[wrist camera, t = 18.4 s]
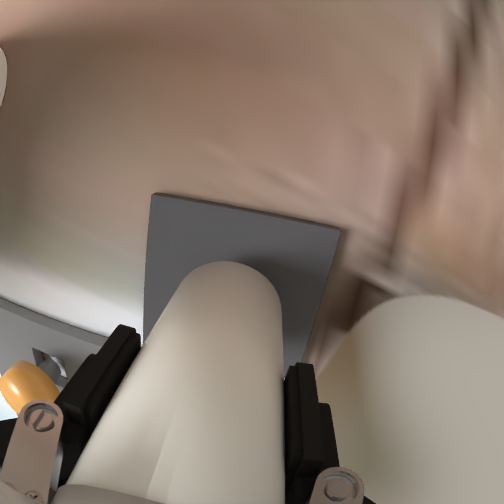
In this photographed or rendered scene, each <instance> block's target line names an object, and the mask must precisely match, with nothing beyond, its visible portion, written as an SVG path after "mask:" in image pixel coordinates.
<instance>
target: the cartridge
mask: <svg viewBox="0 0 504 504" xmlns="http://www.w3.org/2000/svg"><path fill="white" fill-rule="evenodd" d="M51 504H285V414H284V367H283V334H282V309H281V302H280V298H279V296H278V293H277V291H276V290H275V288H274V286H273V285H272V284H271V282H270V281H269V280H268V279H267V278H266V277H265V276H264V275H262V274H261V273H260V272H258V271H257V270H255V269H253V268H251V267H249V266H247V265H244V264H241V263H237V262H230V261H218V262H212V263H207V264H205V265H202V266H200V267H198V268H196V269H194V270H193V271H192V272H190V273H189V274H188V275H187V276H186V277H185V278H184V279H183V281H182V282H181V284H180V285H179V287H178V288H177V290H176V292H175V293H174V295H173V296H172V298H171V300H170V301H169V303H168V304H167V306H166V308H165V309H164V311H163V313H162V314H161V316H160V317H159V319H158V321H157V322H156V324H155V326H154V327H153V329H152V331H151V332H150V334H149V336H148V337H147V339H146V341H145V342H144V344H143V346H142V347H141V349H140V351H139V352H138V354H137V356H136V357H135V359H134V361H133V363H132V364H131V366H130V368H129V369H128V371H127V373H126V375H125V376H124V378H123V380H122V382H121V383H120V385H119V387H118V388H117V390H116V392H115V394H114V395H113V397H112V399H111V401H110V403H109V404H108V406H107V408H106V410H105V411H104V413H103V415H102V417H101V419H100V420H99V422H98V424H97V426H96V428H95V430H94V431H93V433H92V435H91V437H90V439H89V441H88V443H87V444H86V446H85V448H84V450H83V452H82V454H81V456H80V458H79V459H78V461H77V463H76V465H75V467H74V469H73V471H72V473H71V475H70V477H69V479H68V481H67V483H66V485H63V486H61V487H59V488H58V490H57V492H56V494H55V496H54V498H53V500H52V502H51Z"/></svg>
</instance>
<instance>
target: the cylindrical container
mask: <svg viewBox="0 0 504 504" xmlns="http://www.w3.org/2000/svg"><path fill="white" fill-rule="evenodd" d="M6 81H7V62H6V57H5V54H4V52H3V50H2V49H1V48H0V107H1V104H2V100H3V97H4V93H5V88H6Z"/></svg>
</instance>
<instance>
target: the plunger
mask: <svg viewBox="0 0 504 504" xmlns="http://www.w3.org/2000/svg"><path fill="white" fill-rule="evenodd" d="M60 374H61V370H60V367H59V366H58V365H57V363H56V362H54V361H53V360H51V359H49V358H46V359H45V360H44V361H43V362H42V363H41V364H40V365H39V367H37V366H36V365H34V364H32V363H30V362H28V361H25V360H18V361H16V362H15V363H14V364H13V365H12V366H11V367H10V369H9V370H8V371H7V372H6V373H5V374H4V375H3V376H2V377H1V378H0V391H1V393H2V395H3V397H4V398H5V400H6V401H7V403H8V404H9V405H10V406H11V407H12V409H13V410H14V411H15V412H16V413H17V414H19V413H20V411H21V409H22V407H23V406H24V405H26V404H27V403H28V402H31V401H33V400H38V399H42V400H48V401H51V402H54V401H55V400H56V398H57V397H58V395H59V394H60V391H59V390H58V388H57V386H56V385H55V384H54V382H55V381H56V379H57V378H58V377H59V376H60Z"/></svg>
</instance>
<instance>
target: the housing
mask: <svg viewBox="0 0 504 504" xmlns="http://www.w3.org/2000/svg"><path fill="white" fill-rule="evenodd" d="M107 339H108V338H107V337H104V336H101V335H97V334H94V333H91V332H88V331H85V330H82V329H79V328H76V327H73V326H70V325H68V324H65V323H62V322H59V321H56V320H54V319H51V318H48V317H46V316H43V315H40V314H38V313H35V312H33V311H30V310H28V309H25V308H23V307H20V306H18V305H15V304H13V303H11V302H8V301H6V300H4V299H1V298H0V373H1V376H3V375H4V374H5V373H6V372H7V371H8V370H9V369H10V367H11V366H12V365H13V364H14V363H15V362H16V361H18V360H25V361H28V362H30V363H32V364H34V365H36V366H37V367H39V365H40V364H41V363H42V362H43V357H42V353H41V352H44V353H46V354H48V355H51V356H53V357H56V358H58V359H61V360H63V361H64V366H65V371H66V375H67V379H66V378H64V377H62V376H59V377H58V378H57V379H56V381H55V382H54V384H55V385H56V386H57V388H58V390H59V391H60V393H61V391H62V390H63V389H64V387H65V386H66V384H67V383H68V382H69V380H70V379H71V378H72V376H73V375H74V374H75V372H76V371H77V370H78V368H79V367H80V366H81V364H82V363H83V362H84V361H85V359H86V358H87V357H88V356H89V355H90V354H92V353H93V354H97V353H98V351H99V350H100V349H101V347H102V346H103V345H104V343H105V342H106V341H107ZM17 415H18V416H19V414H17Z"/></svg>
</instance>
